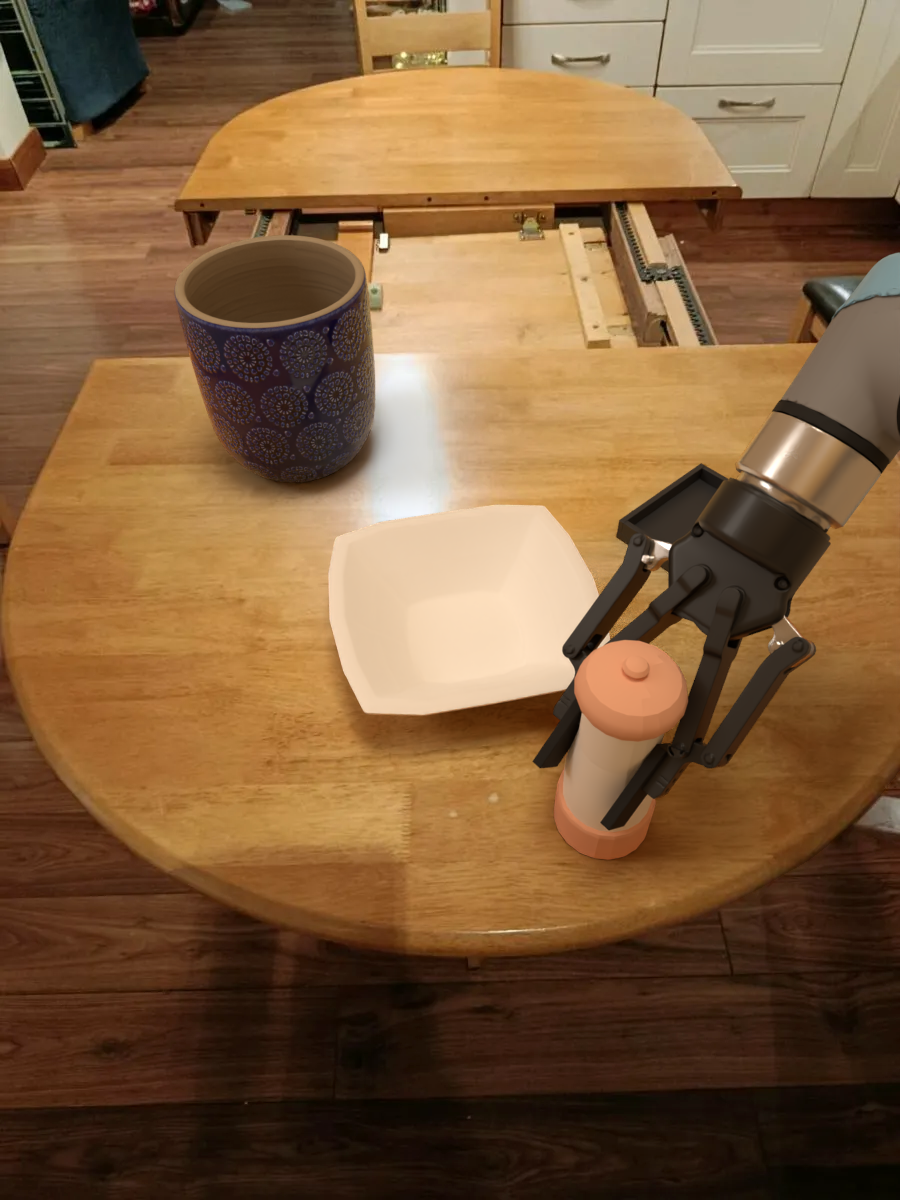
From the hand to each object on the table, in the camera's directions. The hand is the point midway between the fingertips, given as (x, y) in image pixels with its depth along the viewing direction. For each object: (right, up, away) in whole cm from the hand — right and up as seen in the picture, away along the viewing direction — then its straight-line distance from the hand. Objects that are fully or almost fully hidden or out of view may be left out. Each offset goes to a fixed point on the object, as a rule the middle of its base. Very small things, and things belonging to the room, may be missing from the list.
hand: (578, 793), depth 58 cm
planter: (-26, +30, +38) cm, 55 cm away
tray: (+17, +19, +28) cm, 38 cm away
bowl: (-7, +9, +19) cm, 23 cm away
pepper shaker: (+3, -4, +8) cm, 9 cm away
